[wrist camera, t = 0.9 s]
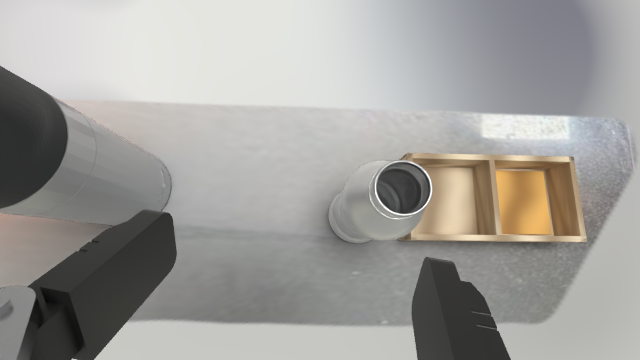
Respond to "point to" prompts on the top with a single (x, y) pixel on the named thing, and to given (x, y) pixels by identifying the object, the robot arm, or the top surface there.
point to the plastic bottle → (381, 201)
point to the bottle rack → (500, 199)
